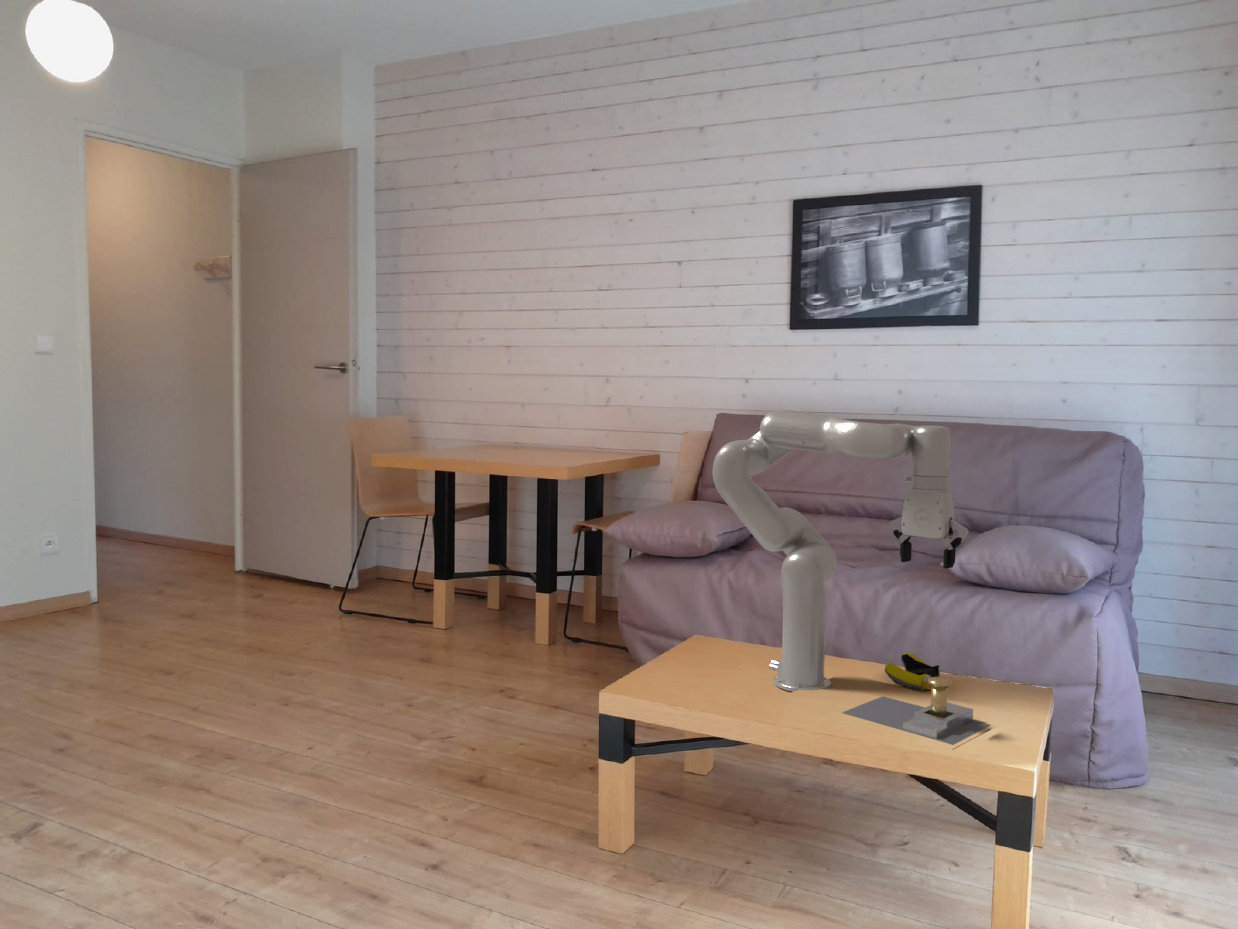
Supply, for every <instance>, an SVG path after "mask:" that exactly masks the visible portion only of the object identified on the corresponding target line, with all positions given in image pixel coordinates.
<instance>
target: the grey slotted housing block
mask: <svg viewBox="0 0 1238 929" xmlns="http://www.w3.org/2000/svg"><path fill="white" fill-rule="evenodd" d="M930 712H931V704H930V705H928V706H925V708H923V709H921V710H919V711H916V712H914V717H913V719H911V720H909V721H907V722H905V723H903V729H904V730H907V731H911V732H914V733H918V734H921V735H925V736H928V737H932V738H935V739H937V738H939V737H941V736H943V735H945V734H947V733H949V732H951V731H953V730H955V729H957V728H959V727H961V726H963V725H966V724H968V723H970V722H972V721H973V720H974V708H971V707H966V706H962V705H959V704H955V703H951V702H947V713H946V718H940V717H937V716H933V715H930Z"/></svg>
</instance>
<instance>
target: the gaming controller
mask: <svg viewBox="0 0 1238 929" xmlns="http://www.w3.org/2000/svg"><path fill="white" fill-rule="evenodd" d="M900 661H901V663H902V665H903V667H904V669H903V668H901V667H900V666H898V665H896V664H893V663H886V664H885V666H884V672H885V674H886V675H887V676H888V678H890V680H892V682H893V683H895V684H896V685H900V686H904V687H907V688H910V690H911V689H912V691H913V692H915V691H916V692H922V691H928V690H931V688H932V686H931V685H929V684H928V678H930V677H941V674H940V673H941V671H942V669H943V666H940V665H933V666H931V665H930V664H928V663H926V662H925V661H923V660H922V658H920V657H918V656H917V655H915V654H914V653H910V652H906V653H903V654H902V655H901V657H900Z"/></svg>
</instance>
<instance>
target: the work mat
mask: <svg viewBox="0 0 1238 929" xmlns="http://www.w3.org/2000/svg"><path fill="white" fill-rule="evenodd" d="M925 707H926V706H925ZM925 707H924V706H921V705H918V704H914V703H910V702H907V701H902V700H898V699H896V698H895V699H894V698H892V697H887V696H880V697H878V698H877V697H876V698H875V699H873V700H870V701H867V702H864V703H863V704H859V705H858V706H855V707H852V708H850V709H847V710H845V711H843V712H842V713H841V714H844V715H849V716H851V717H855V718H858V719H862V720H865V721H869V722H872V723H876V724H880V725H882V726H884V727H885V726H886V727H888V728H889V727H890V728H893V729H896V730H899V731H903V732H906V733H911V734H914V735H917V736H921V737H924V738H928V739H930V740H934V741H939V742H941V743H945V744H949V745H951V746H952V745H956V744H957V743H959V742H961V741H963V740H965V739H966V738H968V737H971V736H973V735H975V734H976V733H978V732H980V731H982V730H984V729H986V728H988V727H990V726H991V724H989V723H986V722H983V721H982V722H981V721H978V720H975V719H973V721H972V722H970V723H968V724H966V725H963V726H961V727H959V728H957V729H955V730H953V731H951V732H949V733H947V734H945V735H943V736H941V737H939V738H937V739H935V738H932V737H928V736H925V735H921V734H918V733H914V732H911V731H907V730H904V729H903V723H905V722H907V721H909V720H911V719H913V717H914V712H916V711H919V710H921V709H923V708H925ZM989 731H991V728H990V729H987V730H986V731H984V732H983V733H980V734H979V735H977V736H975V737H973V738H970V739H969V740H967V741H966V742H964V743H961V744H960V745H957V746H956V747H954V748H952V749H951V750H955V749H957V748H959V747H961V746H963V745H964V744H966V743H968V742H970V741H972V740H974V739H976V738H977V737H980V736H981V735H983V734H986V733H987V732H989Z"/></svg>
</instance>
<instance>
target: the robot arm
mask: <svg viewBox="0 0 1238 929" xmlns="http://www.w3.org/2000/svg"><path fill="white" fill-rule="evenodd" d="M792 450H795V451H797V450H798V451H807V452H814V453H823V454H830V455H839V456H841V455H842V456H847V457H856V458H863V459H873V460H881V461H892V460H896V459H902V458H911V474H910V476H907V477H906V478H905V483H906V484H910V486H909V487H910V488H909V489H906V493H905V496H904V497H905V498H904V501H903V507H902V513H901V516H900V517H897V518H895V519H893V520H891V521H890V522H889V525H890V527H891V530H892V532H893V535H894V536H895V538H896V539H897V541H898V544H899V545H900V548H899V549H900V550H899V557H900V563H907V562H908V563H909V562H911V561H912V545H913V544H912V542H910V541H911V540H912V539H913V538H920V539H926V540H934V541H935V540H937V541H939V540H941V543H943V545H944V546H945V549H943V566H942V567H943V569H946V570H947V569H952V568H954V565H955V563H956V549H958V548H959V546H961V544H963V543H964V542H965V539H966V537H967V536H968V534H969V532H970V531H969V529H968V528H967V527H965V526H964V525H962V524H961V523H959V522H958V521H957V520H955V508H954V500H953V496H952V491H949V486H950V483H949V482H950V457H951V456H950V455H951V430H950V428H949V427H948V426H947V427H946V426H945V425H944V426H943V425H911V424H905V423H875V422H864V421H858V420H857V421H855V420H851V419H850V420H849V419H844V418H841V417H840V416H837V415H834V414H824V413H812V412H804V411H803V412H801V411H795V410H790V409H778V410H777V409H776V410H772V411H770V412H768V413H767V414H765V416H764V417H762V419H761V421H760V425H759V431H757V432H756V433H754V434H753V435H752V436H751V437H749V438H748V439H740V440H739V439H738V440H733V441H730V442H727V443H726V444H723V446H722V447H721V448H720V449H719V450H718V451H717V453H716V456H715V457H714V460H713V464H712V480H713V483H714V486H715V489H716V490H717V492H718V494H719V495H720V497H721V498H722V500H723V501H724V502H725V503H726V504H727V506H729V508H730V509H731V510H732V512H734V514H735V515H736V516H737V518H738V519H739V520H740V522H741V523H742V524H743V525H744V526H745V527H746V528H747V530H748V531H749V532H750V534H751V535H752V537H754V538H755V540H756V542H758V543H759V545H760V546H761V547H762V548H763V549H765V550H767V551H768V552H772V553H777V552H781V551H782V552H783V553H784V554H785V555H786V557H785V558H784V560H783V563H782V565H781V570H780V572H781V573H780V575H781V576H780V578H781V588H782V641H781V642H782V644H781V648H782V649H781V661H780V660H778V659H775V658H773V659H772V660H771V661H770V663H769V665H768V669H769V670H772V671H776V672H777V675H776V676H775V677H774V681H773V683H774V685H775V686H776V687H777V688H780V689H782V690H783V691H788V692H791V691H792V692H795V691H796V692H797V691H799V690H801V691H802V690H803V691H816V690H818V691H819V690H823V689H826V688H829V687H830V686H832V685H831V684H832V681H831V680H830V679H828V678H827V677H825V659H826V658H825V655H826V653H825V652H826V651H825V650H826V627H827V626H826V625H827V624H826V623H827V622H826V620H827V619H826V617H827V604H826V602H827V600H826V592H825V583H826V582H828V581H829V580H830V579H831V578H833V576H834V575H835V573H836V572H837V568H838V559H837V555H836V553H835V551H834V550H833V548H832V547H831V546H830V544H829V543H828V542H827V540H825V538H824V537H823V536H822V535H821V534H820V533H819V531H818V530H817V529H816V528H815V527H814V526H813V525H812V523H811V522H810V521H809V519H808V518H806V517H805V516H804V515H803V514H802V513H801V512H800V511H797V510H796V509H794V508H791V507H788V506H787V507H785V506H784V507H779V506H778V505H777V504H776V503H775V502H774V501H773V500H772V499H771V497H770V496H769V495H768V493H767V492H766V491H765V490H764V489H763V488H762V487H761V486H760V485H758V483H757V482H755V481H754V480H753V479H752V477H751V476H755V475H758V474H760V473H762V472H764V471H766V470H768V469H769V468H770V467H771V466H772V465H775V464H776V462H778V461H779V460H781V458H783V457H784V456H786V455H787V454H788V453H790V452H791V451H792ZM955 531H956V532H957V533H958V534H957V537H955V538H954V537H953V536H954V534H955V533H954V532H955Z"/></svg>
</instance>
